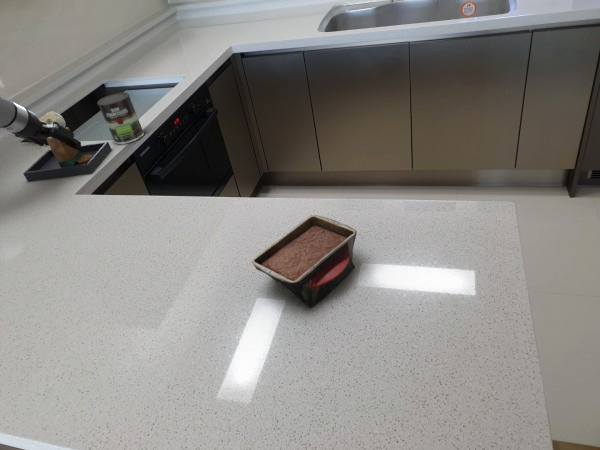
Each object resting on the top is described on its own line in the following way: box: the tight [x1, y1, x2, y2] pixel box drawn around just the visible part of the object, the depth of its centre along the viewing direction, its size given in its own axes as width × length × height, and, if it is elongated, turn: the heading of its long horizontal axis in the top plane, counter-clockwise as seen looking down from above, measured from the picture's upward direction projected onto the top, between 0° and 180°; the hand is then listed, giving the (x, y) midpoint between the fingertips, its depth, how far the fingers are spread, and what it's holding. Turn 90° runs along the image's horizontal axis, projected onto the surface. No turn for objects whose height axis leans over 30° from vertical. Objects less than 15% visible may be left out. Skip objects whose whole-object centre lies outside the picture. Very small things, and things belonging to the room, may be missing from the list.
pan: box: [22, 141, 113, 182], centre depth 146 cm, size 22×16×3 cm
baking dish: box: [251, 214, 357, 309], centre depth 84 cm, size 14×18×10 cm
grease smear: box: [76, 154, 93, 165], centre depth 145 cm, size 5×5×1 cm
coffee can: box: [96, 92, 145, 145], centre depth 154 cm, size 10×10×14 cm
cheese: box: [38, 110, 67, 128], centre depth 169 cm, size 15×7×15 cm
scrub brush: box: [46, 127, 82, 167], centre depth 143 cm, size 4×7×10 cm, turn 176°
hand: (73, 147), depth 147 cm, fingers closed on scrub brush, 4 cm apart
